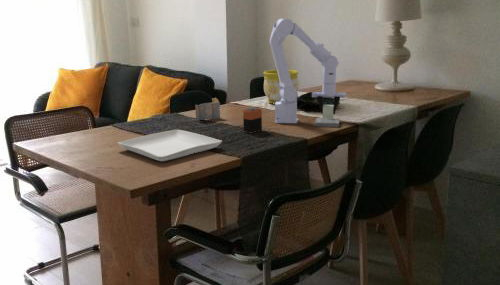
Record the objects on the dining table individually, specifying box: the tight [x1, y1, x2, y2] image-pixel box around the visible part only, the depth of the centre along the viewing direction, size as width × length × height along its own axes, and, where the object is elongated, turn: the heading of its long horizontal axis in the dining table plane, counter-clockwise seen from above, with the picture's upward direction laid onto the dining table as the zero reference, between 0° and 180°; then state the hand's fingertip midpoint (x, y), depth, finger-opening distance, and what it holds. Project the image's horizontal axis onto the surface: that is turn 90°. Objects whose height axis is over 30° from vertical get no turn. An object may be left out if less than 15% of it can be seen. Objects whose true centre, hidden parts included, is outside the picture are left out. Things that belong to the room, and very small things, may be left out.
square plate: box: [117, 129, 223, 162], centre depth 182 cm, size 27×27×4 cm
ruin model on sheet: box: [194, 97, 221, 121], centre depth 231 cm, size 11×3×10 cm, turn 126°
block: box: [322, 104, 335, 118], centre depth 225 cm, size 4×4×5 cm
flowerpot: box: [262, 69, 299, 105], centre depth 267 cm, size 18×18×16 cm
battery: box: [242, 106, 263, 132], centre depth 206 cm, size 4×7×10 cm, turn 136°
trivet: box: [314, 117, 341, 128], centre depth 217 cm, size 10×10×2 cm
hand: (328, 113), depth 226 cm, fingers closed on block, 4 cm apart
